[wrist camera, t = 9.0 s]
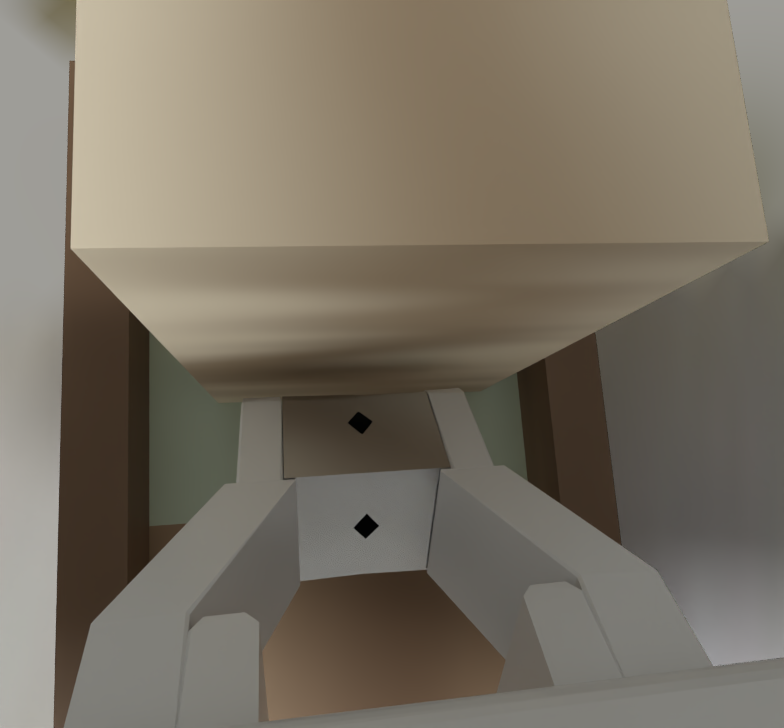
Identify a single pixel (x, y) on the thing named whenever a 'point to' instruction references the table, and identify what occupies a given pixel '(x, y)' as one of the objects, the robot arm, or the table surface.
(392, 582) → the walled track
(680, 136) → the birch block
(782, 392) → the table surface
